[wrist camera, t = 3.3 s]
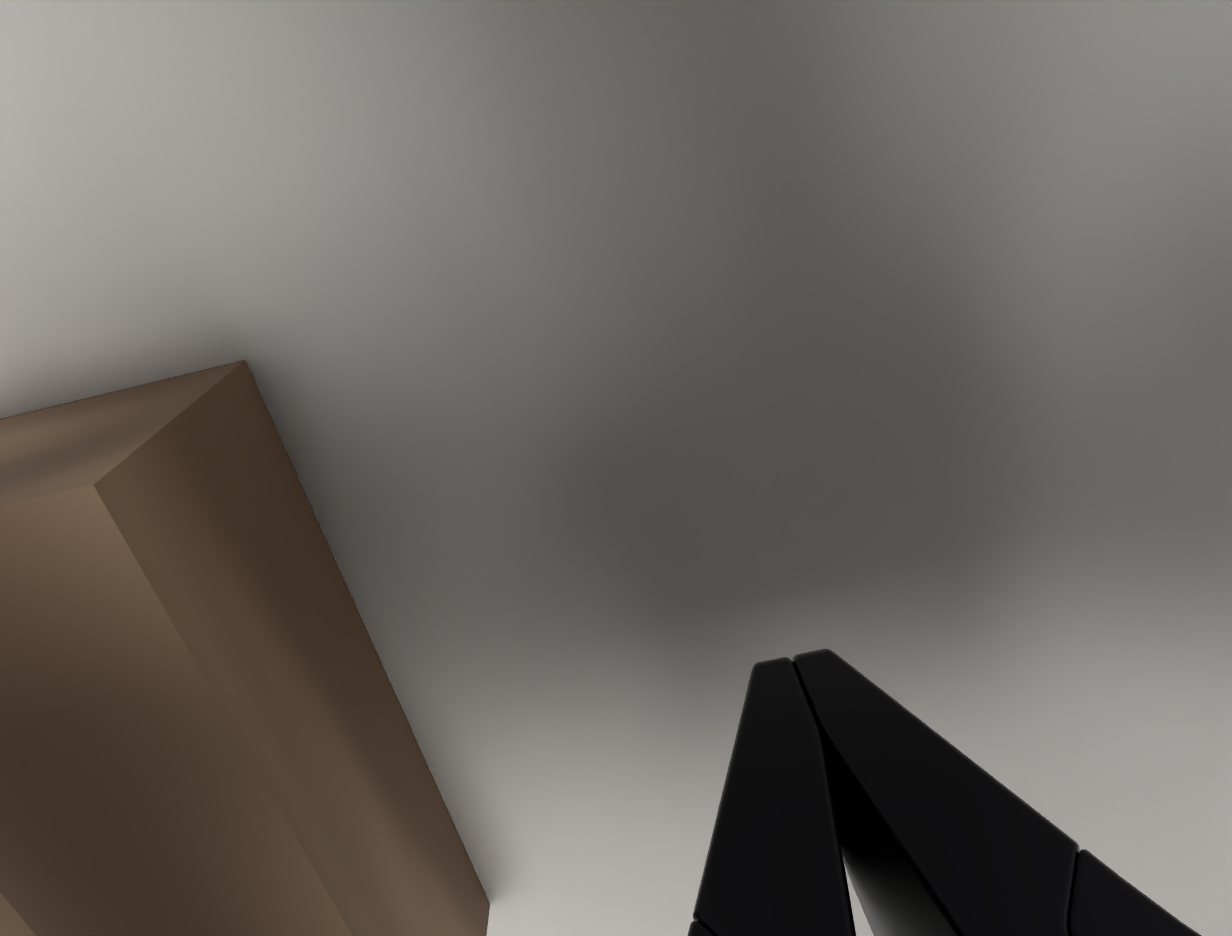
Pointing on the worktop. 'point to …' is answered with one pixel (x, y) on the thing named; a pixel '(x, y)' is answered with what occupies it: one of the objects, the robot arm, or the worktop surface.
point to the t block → (198, 691)
